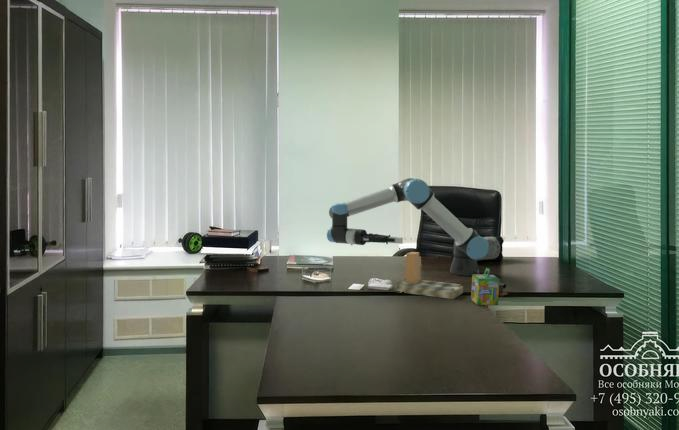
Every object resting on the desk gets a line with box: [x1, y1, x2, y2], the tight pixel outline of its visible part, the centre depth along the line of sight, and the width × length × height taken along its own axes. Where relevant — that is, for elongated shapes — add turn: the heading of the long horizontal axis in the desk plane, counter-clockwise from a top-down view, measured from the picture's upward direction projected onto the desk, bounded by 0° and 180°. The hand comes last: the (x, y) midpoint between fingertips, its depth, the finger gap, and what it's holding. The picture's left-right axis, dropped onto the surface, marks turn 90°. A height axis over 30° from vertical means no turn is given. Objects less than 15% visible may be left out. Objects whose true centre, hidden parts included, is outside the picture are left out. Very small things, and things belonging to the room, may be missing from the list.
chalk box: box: [470, 267, 500, 306], centre depth 245 cm, size 9×9×15 cm
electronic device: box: [498, 278, 509, 298], centre depth 260 cm, size 4×10×8 cm, turn 44°
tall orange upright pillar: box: [405, 251, 420, 284], centre depth 268 cm, size 4×6×14 cm, turn 151°
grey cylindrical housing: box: [451, 234, 504, 262], centre depth 345 cm, size 15×29×15 cm, turn 116°
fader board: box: [394, 277, 464, 300], centre depth 265 cm, size 28×13×4 cm, turn 61°
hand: (401, 240), depth 269 cm, fingers closed
